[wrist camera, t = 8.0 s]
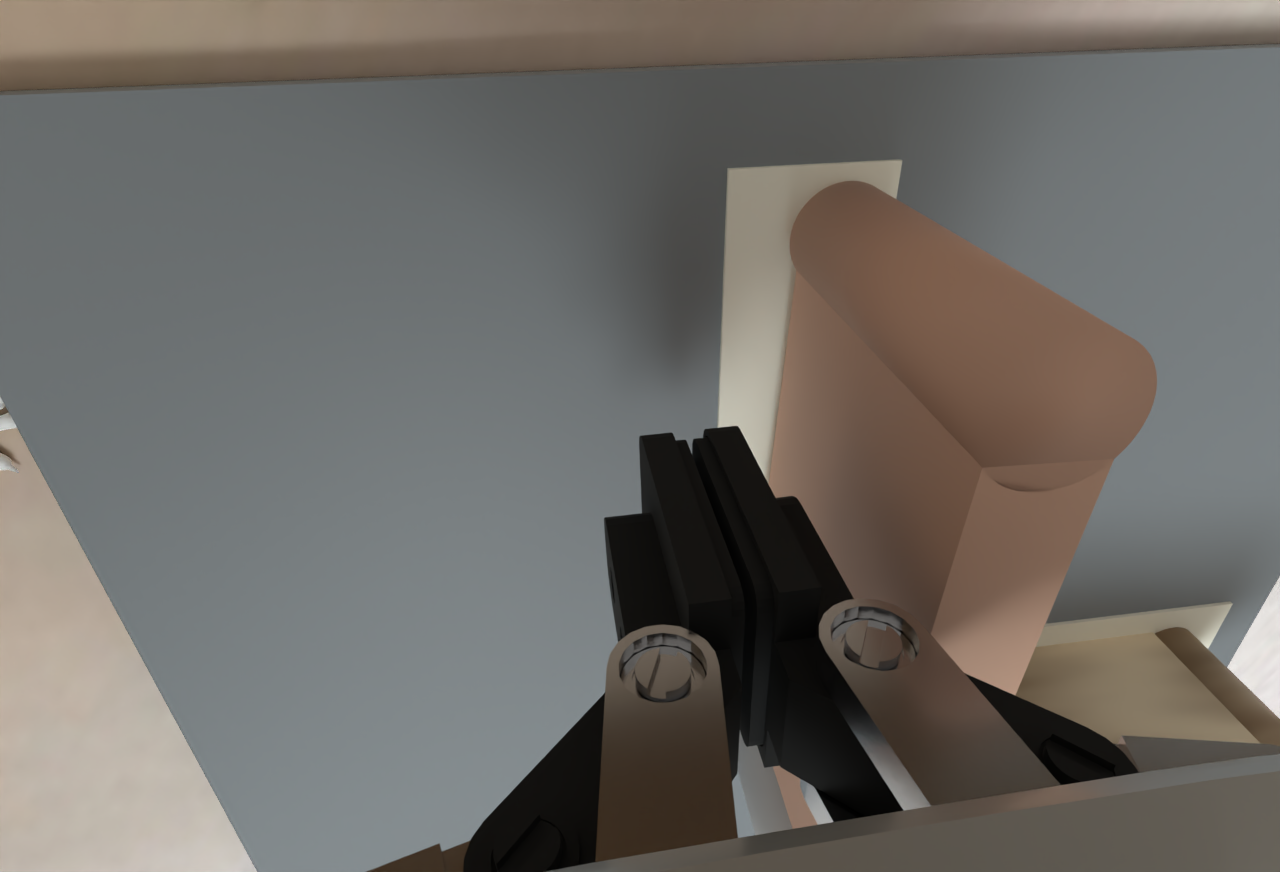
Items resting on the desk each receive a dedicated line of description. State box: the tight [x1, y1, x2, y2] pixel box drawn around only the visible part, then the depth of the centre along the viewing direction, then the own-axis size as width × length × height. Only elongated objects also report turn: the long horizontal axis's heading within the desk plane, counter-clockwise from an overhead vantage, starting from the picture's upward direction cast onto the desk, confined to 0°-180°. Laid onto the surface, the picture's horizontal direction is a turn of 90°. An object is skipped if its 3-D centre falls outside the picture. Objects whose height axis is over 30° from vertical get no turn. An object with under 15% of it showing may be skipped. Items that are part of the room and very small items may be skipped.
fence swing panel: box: [738, 181, 1157, 835], centre depth 14 cm, size 15×2×7 cm, turn 179°
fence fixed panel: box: [1015, 627, 1280, 746], centre depth 19 cm, size 12×2×7 cm, turn 91°
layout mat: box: [0, 44, 1280, 872], centre depth 19 cm, size 30×25×1 cm
